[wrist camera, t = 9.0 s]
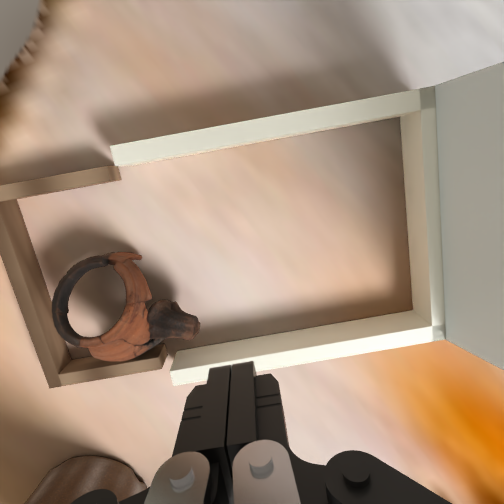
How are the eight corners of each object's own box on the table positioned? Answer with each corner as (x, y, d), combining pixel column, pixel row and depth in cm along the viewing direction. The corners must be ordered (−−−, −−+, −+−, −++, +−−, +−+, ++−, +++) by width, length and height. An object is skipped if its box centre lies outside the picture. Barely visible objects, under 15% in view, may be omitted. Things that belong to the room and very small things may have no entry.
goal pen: (117, 165, 30) (106, 165, 27) (167, 354, 34) (161, 368, 32) (-2, 187, 30) (-24, 189, 27) (63, 372, 34) (49, 388, 32)
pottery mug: (94, 351, 34) (27, 355, 27) (114, 259, 36) (58, 237, 29) (208, 369, 32) (170, 379, 24) (223, 269, 34) (192, 248, 26)
